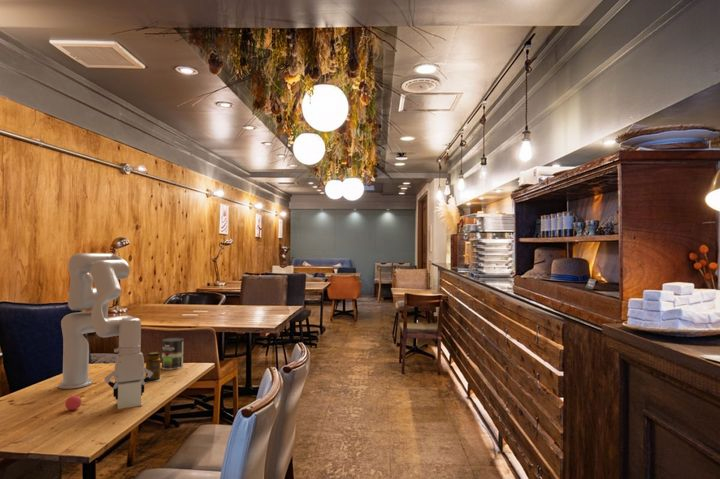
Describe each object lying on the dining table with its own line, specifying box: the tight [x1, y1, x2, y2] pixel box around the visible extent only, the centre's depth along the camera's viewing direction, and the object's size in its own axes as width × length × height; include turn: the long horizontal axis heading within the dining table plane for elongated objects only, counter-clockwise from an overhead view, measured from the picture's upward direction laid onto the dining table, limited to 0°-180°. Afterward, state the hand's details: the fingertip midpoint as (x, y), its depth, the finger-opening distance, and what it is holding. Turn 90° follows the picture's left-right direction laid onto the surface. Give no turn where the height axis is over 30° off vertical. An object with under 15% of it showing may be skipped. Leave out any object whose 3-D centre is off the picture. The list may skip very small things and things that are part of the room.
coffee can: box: [160, 337, 185, 371], centre depth 227 cm, size 10×10×14 cm
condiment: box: [143, 351, 162, 383], centre depth 205 cm, size 7×8×12 cm
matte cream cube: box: [116, 380, 142, 410], centre depth 171 cm, size 8×8×9 cm
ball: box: [64, 395, 82, 411], centre depth 165 cm, size 5×5×5 cm
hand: (128, 396), depth 171 cm, fingers closed on matte cream cube, 7 cm apart
